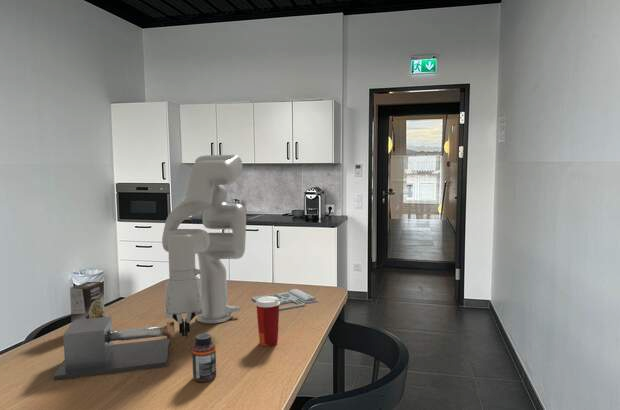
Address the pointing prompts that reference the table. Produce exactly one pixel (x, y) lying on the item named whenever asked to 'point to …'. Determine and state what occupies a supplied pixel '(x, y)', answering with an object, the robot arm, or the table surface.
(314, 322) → the table surface
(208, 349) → the supplement bottle
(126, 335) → the shaft
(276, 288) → the table surface
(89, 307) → the coffee box
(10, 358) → the table surface
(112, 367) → the grey fixture block
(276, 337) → the paper cup
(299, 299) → the office telephone
